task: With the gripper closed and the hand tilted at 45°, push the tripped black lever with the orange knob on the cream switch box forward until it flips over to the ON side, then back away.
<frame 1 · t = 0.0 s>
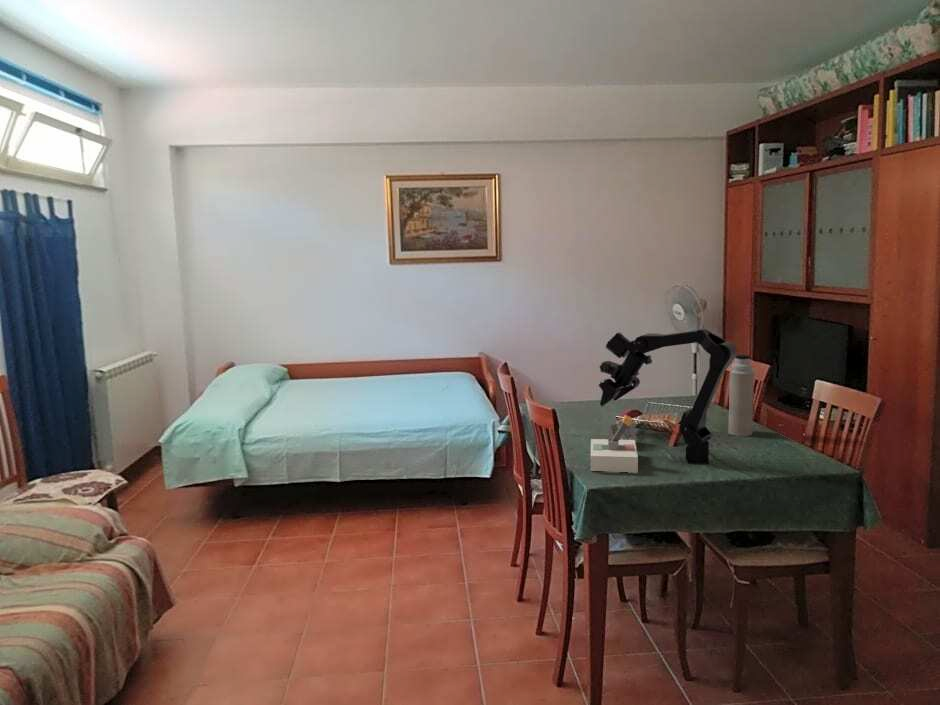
hand: (607, 402, 241), 15 cm above the table, tool tilted 35°, fingers open, 9 cm apart
thermos bottle: (740, 433, 253), on the table
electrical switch: (623, 445, 244), on the table
breaker lever: (620, 431, 223), point 10 cm above the table, hinge at -30.0°
breaker housing: (613, 462, 225), on the table
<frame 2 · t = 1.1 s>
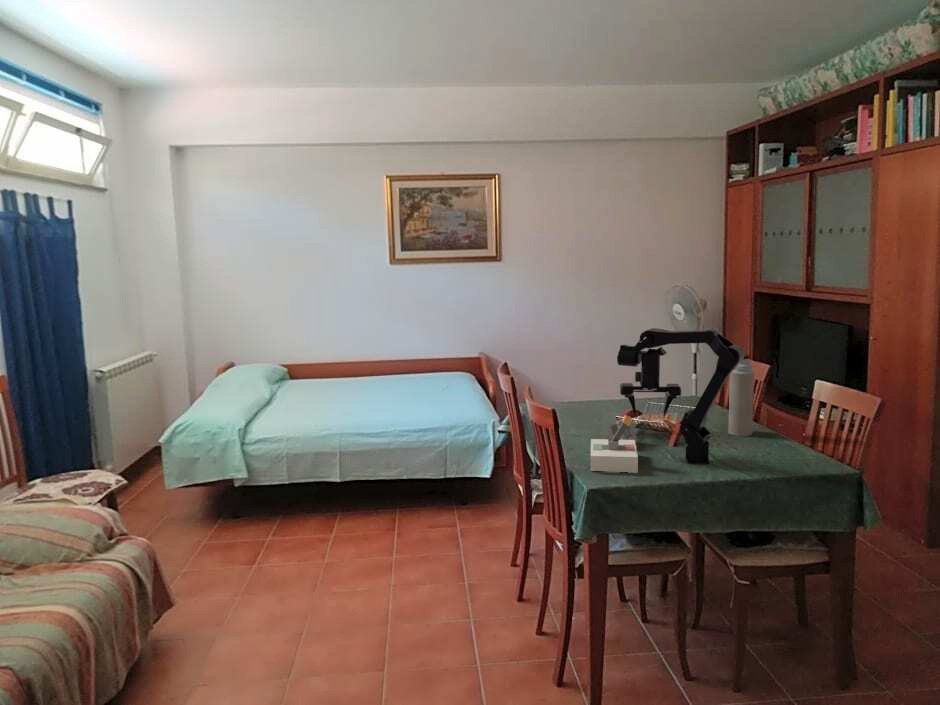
hand: (649, 415, 231), 13 cm above the table, tool pointing down, fingers open, 9 cm apart
nothing on the table moved.
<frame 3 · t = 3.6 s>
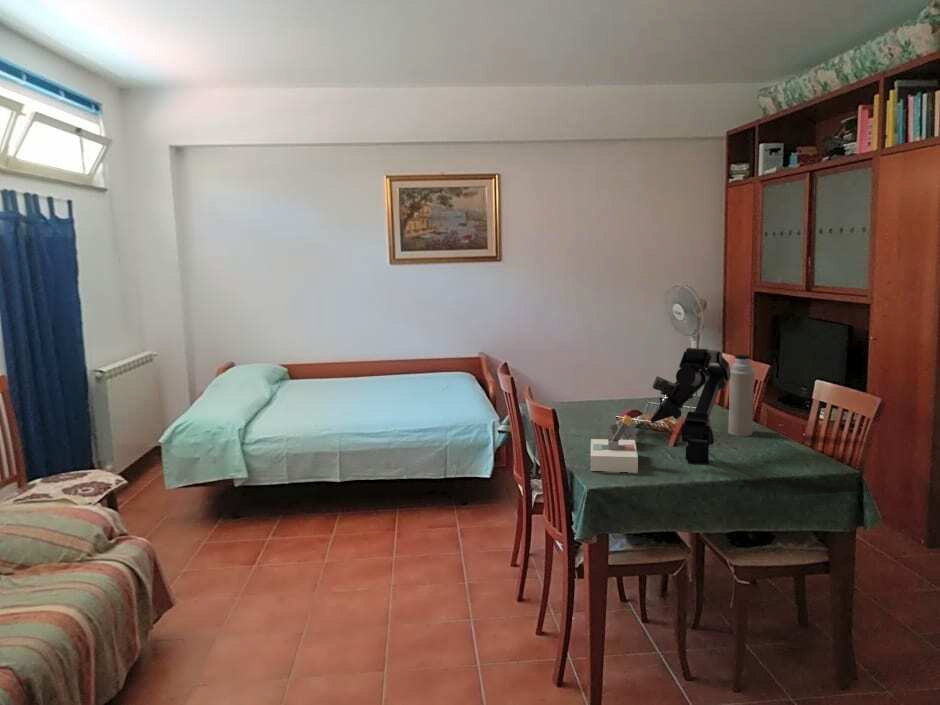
hand: (651, 421, 222), 13 cm above the table, tool tilted 45°, fingers closed
nothing on the table moved.
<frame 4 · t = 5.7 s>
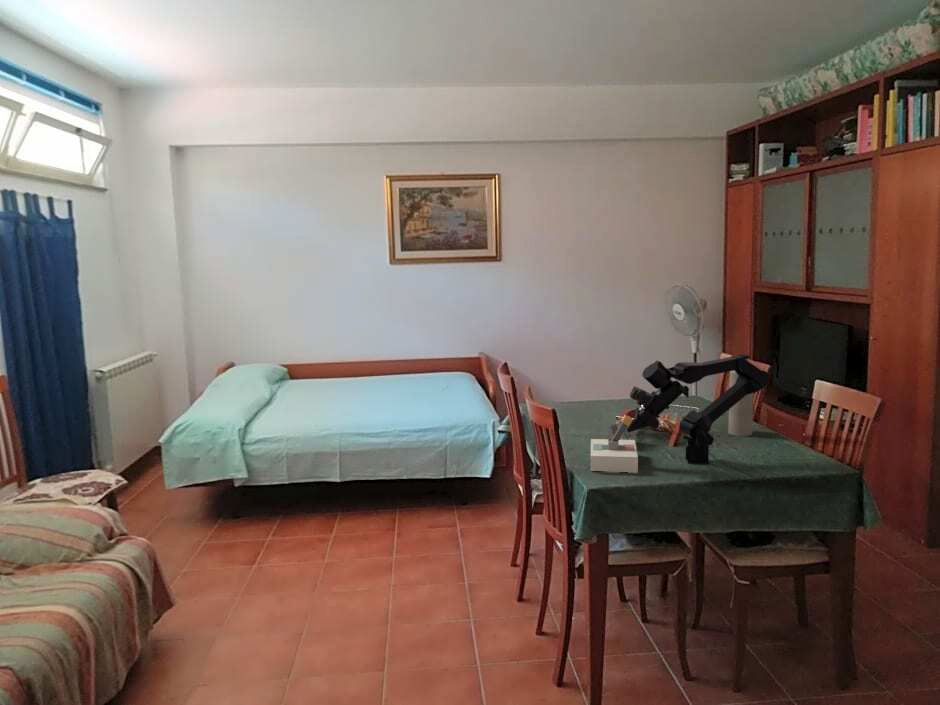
hand: (627, 431, 223), 10 cm above the table, tool tilted 45°, fingers closed, pressing on breaker lever
breaker lever: (620, 431, 223), point 10 cm above the table, hinge at -29.0°, touching gripper
everything else where it was.
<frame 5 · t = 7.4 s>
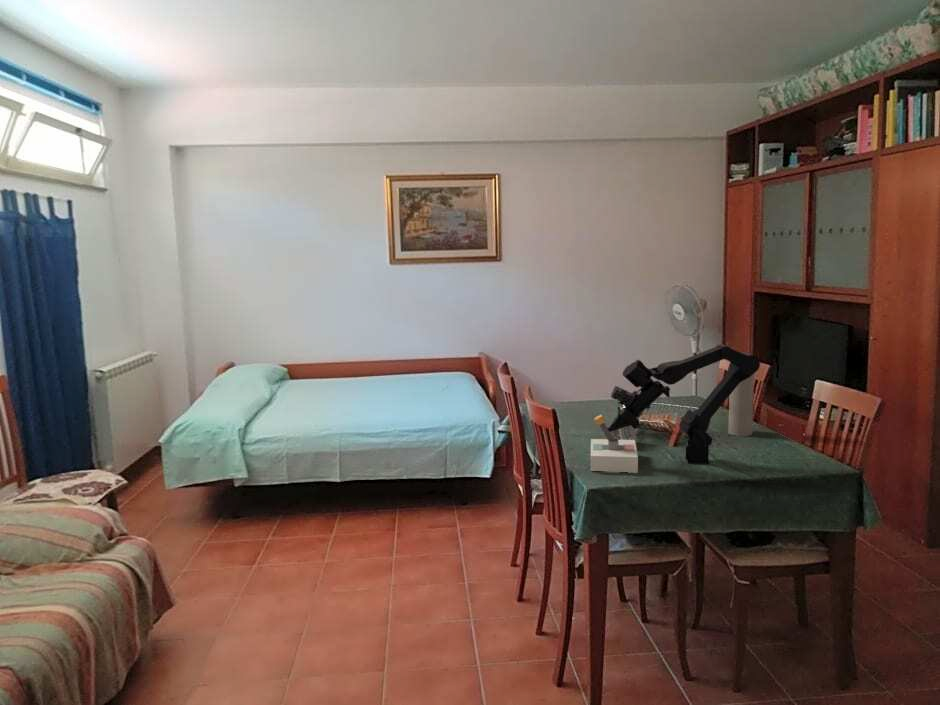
hand: (608, 430, 224), 11 cm above the table, tool tilted 45°, fingers closed, pressing on breaker lever
breaker lever: (606, 431, 224), point 10 cm above the table, hinge at 29.3°, touching gripper
everything else where it was.
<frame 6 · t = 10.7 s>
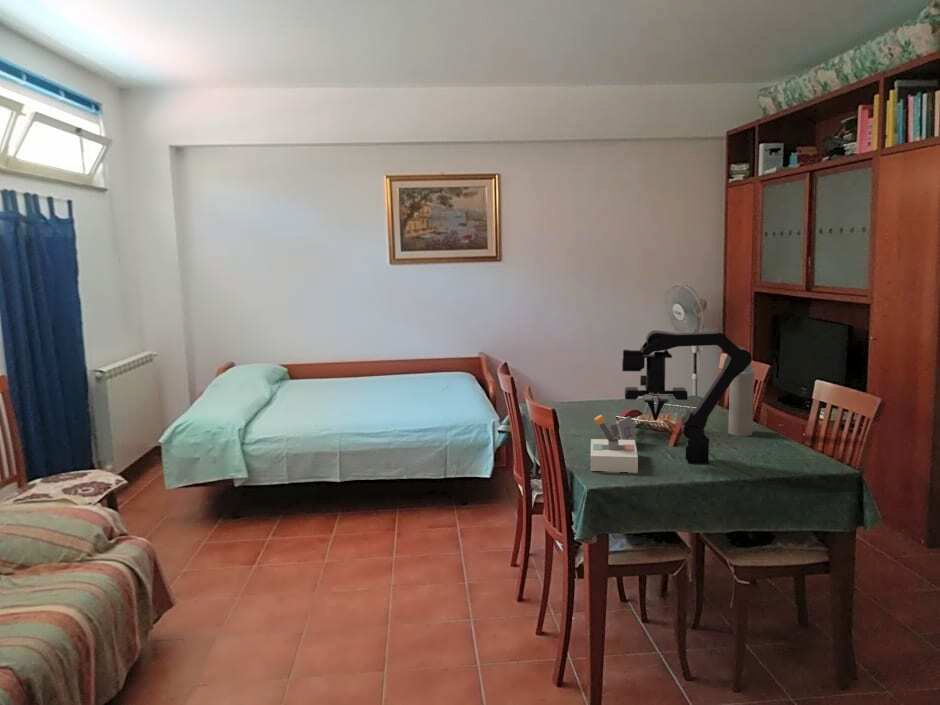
hand: (655, 420, 225), 13 cm above the table, tool pointing down, fingers closed
breaker lever: (606, 431, 224), point 10 cm above the table, hinge at 29.5°
everything else where it was.
at the end: breaker lever at +30° (first picture: -30°); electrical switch moved 0.3 cm from its start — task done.
